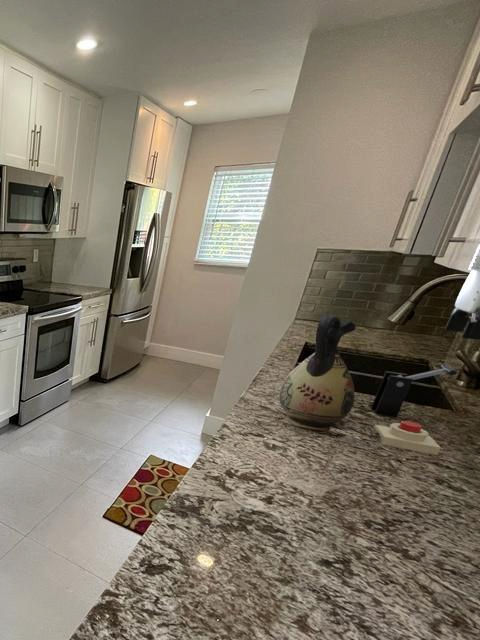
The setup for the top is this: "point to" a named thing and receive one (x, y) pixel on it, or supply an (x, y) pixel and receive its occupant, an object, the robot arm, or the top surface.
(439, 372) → the lever
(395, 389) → the bracket
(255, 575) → the top surface
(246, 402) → the top surface
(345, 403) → the ceramic jug
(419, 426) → the button
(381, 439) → the control block
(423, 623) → the top surface
